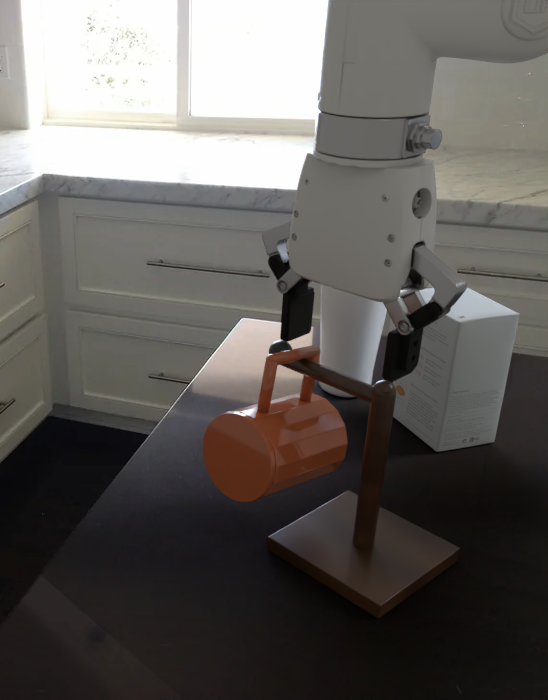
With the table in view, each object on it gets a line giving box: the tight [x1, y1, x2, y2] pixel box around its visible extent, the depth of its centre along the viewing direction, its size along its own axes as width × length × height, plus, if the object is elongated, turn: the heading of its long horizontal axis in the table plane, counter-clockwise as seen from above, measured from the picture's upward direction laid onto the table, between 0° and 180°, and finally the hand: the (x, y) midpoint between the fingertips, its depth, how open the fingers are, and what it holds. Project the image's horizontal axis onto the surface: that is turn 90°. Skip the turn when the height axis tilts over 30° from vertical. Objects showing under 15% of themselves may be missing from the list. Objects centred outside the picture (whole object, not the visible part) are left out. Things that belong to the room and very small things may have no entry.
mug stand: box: [266, 339, 461, 619], centre depth 65 cm, size 10×15×15 cm, turn 38°
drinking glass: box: [318, 284, 388, 398], centre depth 88 cm, size 7×7×15 cm
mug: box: [202, 344, 349, 503], centre depth 66 cm, size 11×7×9 cm
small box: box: [392, 287, 520, 453], centre depth 80 cm, size 8×6×13 cm
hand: (344, 355), depth 68 cm, fingers open, 9 cm apart
